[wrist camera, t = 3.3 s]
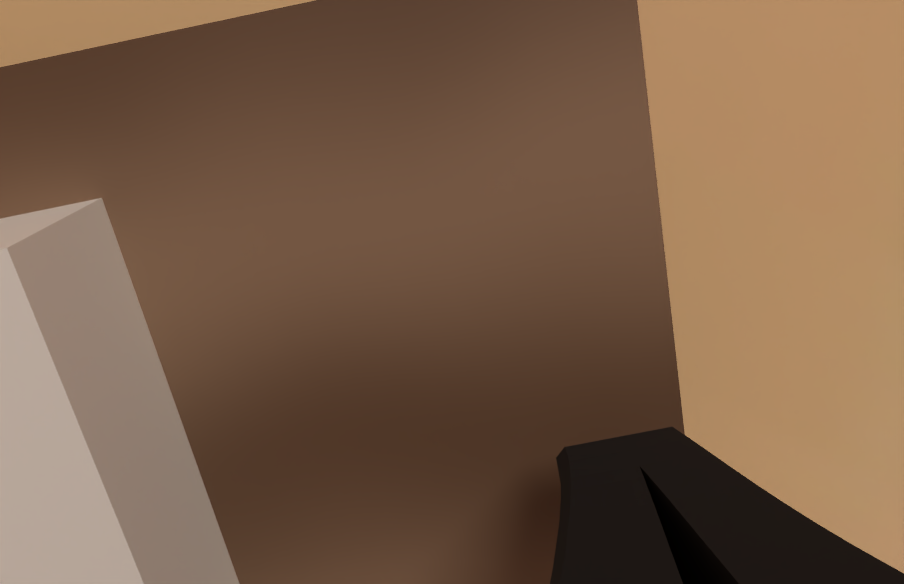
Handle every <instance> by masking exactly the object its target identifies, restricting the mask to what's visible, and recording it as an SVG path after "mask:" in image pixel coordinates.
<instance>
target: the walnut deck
mask: <svg viewBox="0 0 904 584" xmlns="http://www.w3.org/2000/svg"><path fill="white" fill-rule="evenodd" d="M99 198H102V200H103V203H104V206H105V208H106V211H107V214H108V217H109V220H110V222H111V225H112V228H113V231H114V234H115V236H116V239H117V242H118V245H119V248H120V250H121V253H122V256H123V259H124V262H125V264H126V267H127V270H128V273H129V276H130V278H131V281H132V284H133V287H134V290H135V292H136V295H137V298H138V301H139V304H140V306H141V309H142V312H143V315H144V318H145V321H146V323H147V326H148V329H149V332H150V335H151V337H152V340H153V343H154V346H155V349H156V351H157V354H158V357H159V360H160V363H161V365H162V368H163V371H164V374H165V377H166V379H167V382H168V385H169V388H170V391H171V393H172V396H173V399H174V402H175V405H176V407H177V410H178V413H179V416H180V419H181V421H182V424H183V427H184V430H185V433H186V435H187V438H188V441H189V444H190V447H191V449H192V452H193V455H194V458H195V461H196V463H197V466H198V469H199V472H200V475H201V478H202V480H203V483H204V486H205V489H206V492H207V494H208V497H209V500H210V503H211V506H212V508H213V511H214V514H215V517H216V520H217V522H218V525H219V528H220V531H221V534H222V536H223V539H224V542H225V545H226V548H227V550H228V553H229V556H230V559H231V562H232V564H233V567H234V570H235V573H236V576H237V578H238V581H239V584H550V580H551V575H552V570H553V563H554V556H555V549H556V542H557V535H558V528H559V519H560V503H561V483H560V478H559V472H558V466H557V461H556V457H557V456H558V455H559V453H560V452H561V451H562V450H563V448H564V447H567V446H572V445H578V444H583V443H588V442H593V441H599V440H604V439H609V438H615V437H620V436H625V435H630V434H636V433H641V432H646V431H651V430H657V429H662V428H667V427H674V428H675V429H677V430H678V431H679V432H681V433H682V434H684V425H683V416H682V407H681V398H680V389H679V380H678V371H677V361H676V352H675V343H674V334H673V325H672V316H671V307H670V298H669V289H668V279H667V270H666V261H665V252H664V243H663V234H662V225H661V216H660V207H659V198H658V188H657V179H656V170H655V161H654V152H653V143H652V134H651V125H650V116H649V106H648V97H647V88H646V79H645V70H644V61H643V52H642V43H641V34H640V24H639V15H638V6H637V0H316V1H311V2H307V3H302V4H297V5H293V6H288V7H283V8H278V9H274V10H269V11H264V12H260V13H255V14H250V15H245V16H241V17H236V18H231V19H227V20H222V21H217V22H213V23H208V24H203V25H198V26H194V27H189V28H184V29H180V30H175V31H170V32H165V33H161V34H156V35H151V36H147V37H142V38H137V39H132V40H128V41H123V42H118V43H114V44H109V45H104V46H100V47H95V48H90V49H85V50H81V51H76V52H71V53H67V54H62V55H57V56H52V57H48V58H43V59H38V60H34V61H29V62H24V63H19V64H15V65H10V66H5V67H1V68H0V219H1V218H6V217H11V216H16V215H21V214H26V213H31V212H35V211H40V210H45V209H50V208H55V207H60V206H65V205H69V204H74V203H79V202H84V201H89V200H94V199H99ZM684 435H685V434H684Z"/></svg>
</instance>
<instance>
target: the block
mask: <svg viewBox="0 0 904 584" xmlns="http://www.w3.org/2000/svg"><path fill="white" fill-rule="evenodd" d="M0 584H239V581H238V578H237V576H236V573H235V570H234V567H233V564H232V562H231V559H230V556H229V553H228V550H227V548H226V545H225V542H224V539H223V536H222V534H221V531H220V528H219V525H218V522H217V520H216V517H215V514H214V511H213V508H212V506H211V503H210V500H209V497H208V494H207V492H206V489H205V486H204V483H203V480H202V478H201V475H200V472H199V469H198V466H197V463H196V461H195V458H194V455H193V452H192V449H191V447H190V444H189V441H188V438H187V435H186V433H185V430H184V427H183V424H182V421H181V419H180V416H179V413H178V410H177V407H176V405H175V402H174V399H173V396H172V393H171V391H170V388H169V385H168V382H167V379H166V377H165V374H164V371H163V368H162V365H161V363H160V360H159V357H158V354H157V351H156V349H155V346H154V343H153V340H152V337H151V335H150V332H149V329H148V326H147V323H146V321H145V318H144V315H143V312H142V309H141V306H140V304H139V301H138V298H137V295H136V292H135V290H134V287H133V284H132V281H131V278H130V276H129V273H128V270H127V267H126V264H125V262H124V259H123V256H122V253H121V250H120V248H119V245H118V242H117V239H116V236H115V234H114V231H113V228H112V225H111V222H110V220H109V217H108V214H107V211H106V208H105V206H104V203H103V200H102V198H99V199H94V200H89V201H84V202H79V203H74V204H69V205H65V206H60V207H55V208H50V209H45V210H40V211H35V212H31V213H26V214H21V215H16V216H11V217H6V218H1V219H0Z"/></svg>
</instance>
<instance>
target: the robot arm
mask: <svg viewBox="0 0 904 584" xmlns="http://www.w3.org/2000/svg"><path fill="white" fill-rule="evenodd" d="M556 461H557V466H558V472H559V478H560V483H561V503H560V519H559V528H558V535H557V542H556V549H555V556H554V563H553V570H552V575H551V580H550V584H904V574H903V573H902V572H900V571H898V570H896V569H895V568H893V567H891V566H889V565H887V564H886V563H884V562H882V561H880V560H878V559H877V558H875V557H873V556H871V555H870V554H868V553H866V552H864V551H862V550H861V549H859V548H857V547H855V546H854V545H852V544H850V543H848V542H847V541H845V540H843V539H842V538H840V537H838V536H837V535H835V534H833V533H832V532H830V531H828V530H827V529H825V528H823V527H822V526H820V525H818V524H817V523H815V522H813V521H812V520H810V519H809V518H807V517H805V516H804V515H802V514H801V513H799V512H798V511H796V510H794V509H793V508H791V507H790V506H788V505H787V504H785V503H783V502H782V501H780V500H779V499H777V498H776V497H774V496H773V495H771V494H770V493H768V492H767V491H765V490H764V489H762V488H761V487H759V486H758V485H756V484H755V483H753V482H752V481H750V480H749V479H747V478H746V477H744V476H743V475H741V474H740V473H739V472H737V471H736V470H734V469H733V468H731V467H730V466H728V465H727V464H726V463H724V462H723V461H721V460H720V459H718V458H717V457H715V456H714V455H713V454H711V453H710V452H708V451H707V450H705V449H704V448H703V447H701V446H700V445H698V444H697V443H695V442H694V441H692V440H691V439H690V438H688V437H687V436H685V435H684V434H682V433H681V432H679V431H678V430H677V429H675V428H674V427H667V428H662V429H657V430H651V431H646V432H641V433H636V434H630V435H625V436H620V437H615V438H609V439H604V440H599V441H593V442H588V443H583V444H578V445H572V446H567V447H564V448H563V450H562V451H561V452H560V453H559V455H558V456H557V457H556Z"/></svg>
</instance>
